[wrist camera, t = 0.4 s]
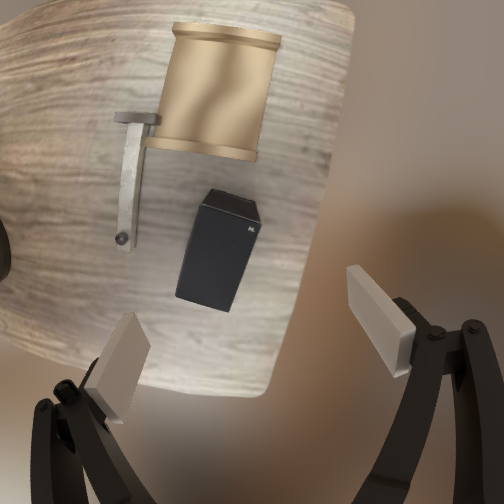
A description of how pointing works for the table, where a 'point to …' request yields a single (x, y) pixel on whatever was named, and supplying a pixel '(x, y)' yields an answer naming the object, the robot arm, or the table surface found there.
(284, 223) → the table surface
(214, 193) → the small box
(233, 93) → the cradle
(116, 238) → the lock bolt
